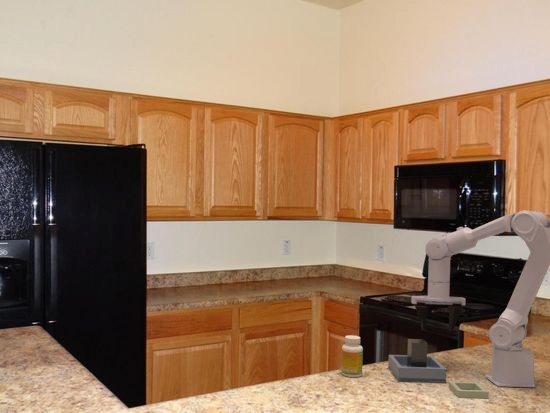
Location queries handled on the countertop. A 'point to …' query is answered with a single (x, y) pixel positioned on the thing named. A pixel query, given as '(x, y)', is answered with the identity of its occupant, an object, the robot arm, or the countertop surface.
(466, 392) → the holder
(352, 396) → the countertop surface
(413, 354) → the dark wooden post
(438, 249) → the robot arm
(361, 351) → the supplement bottle
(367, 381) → the countertop surface
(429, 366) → the tray
